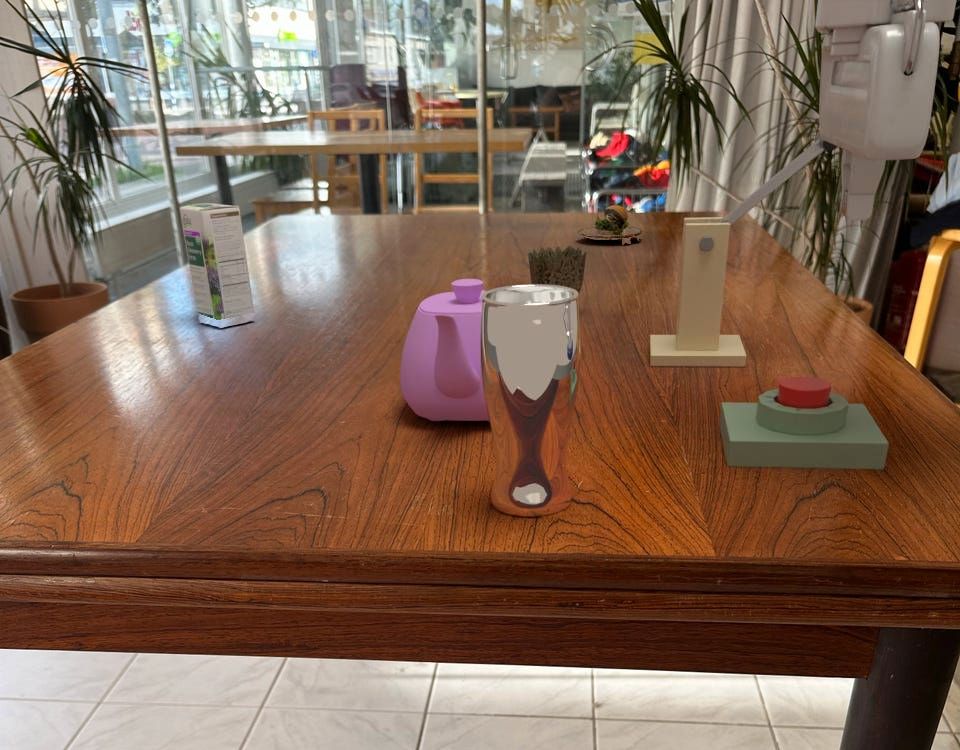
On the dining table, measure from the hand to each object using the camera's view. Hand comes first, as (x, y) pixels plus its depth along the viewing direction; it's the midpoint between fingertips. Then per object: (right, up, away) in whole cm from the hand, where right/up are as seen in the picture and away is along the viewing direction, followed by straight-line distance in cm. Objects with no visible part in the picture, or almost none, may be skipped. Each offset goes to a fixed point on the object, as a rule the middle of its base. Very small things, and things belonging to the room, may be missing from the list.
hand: (854, 217), depth 71 cm
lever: (+1, +13, +25) cm, 28 cm away
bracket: (-4, 0, +34) cm, 34 cm away
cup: (-18, +11, +53) cm, 57 cm away
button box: (-2, -16, +8) cm, 18 cm away
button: (-2, -12, +6) cm, 14 cm away
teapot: (-29, -10, +19) cm, 36 cm away
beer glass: (-24, -21, 0) cm, 32 cm away
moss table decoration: (-4, +42, +103) cm, 111 cm away
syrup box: (-62, +11, +56) cm, 84 cm away
